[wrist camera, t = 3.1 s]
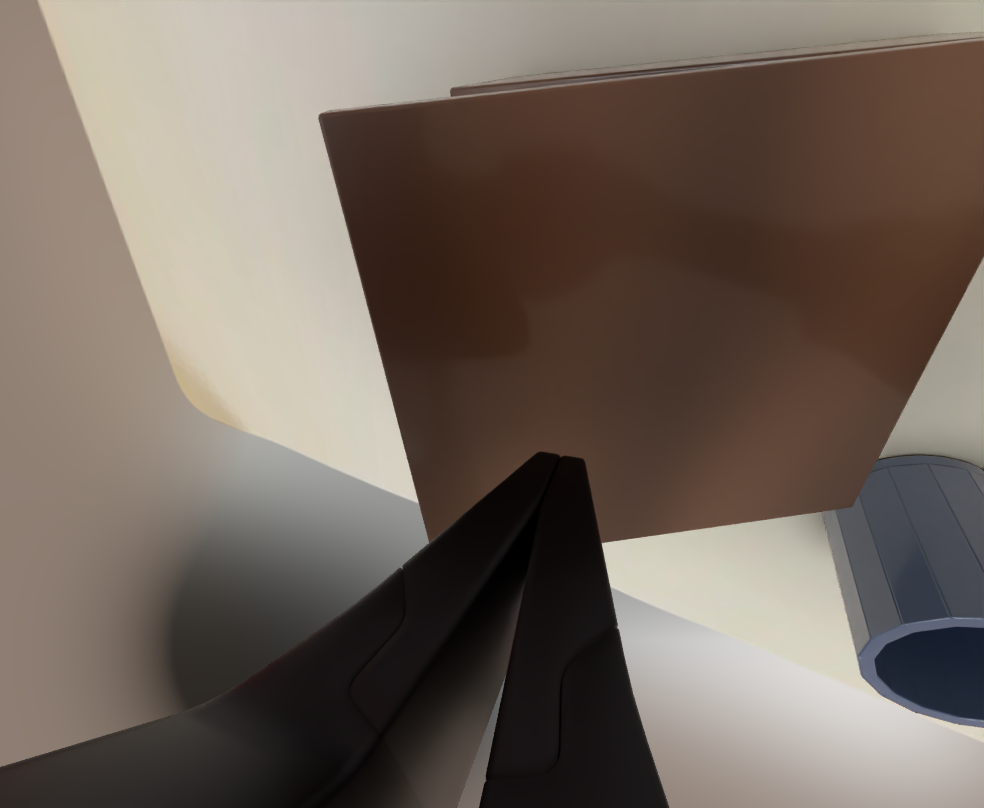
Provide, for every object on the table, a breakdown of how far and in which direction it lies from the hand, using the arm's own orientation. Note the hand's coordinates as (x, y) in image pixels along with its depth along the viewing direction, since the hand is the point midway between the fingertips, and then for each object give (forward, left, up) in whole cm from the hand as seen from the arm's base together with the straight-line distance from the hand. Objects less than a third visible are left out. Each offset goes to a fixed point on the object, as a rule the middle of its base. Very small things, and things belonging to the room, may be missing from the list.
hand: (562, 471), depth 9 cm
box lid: (-1, 0, -4) cm, 5 cm away
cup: (-13, +12, -13) cm, 22 cm away
